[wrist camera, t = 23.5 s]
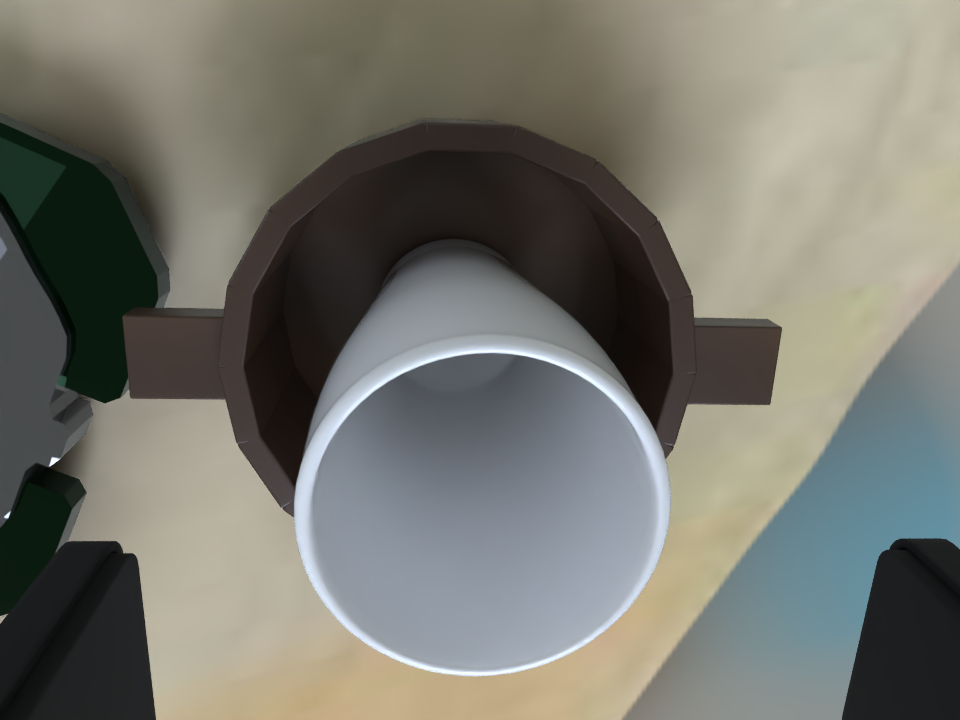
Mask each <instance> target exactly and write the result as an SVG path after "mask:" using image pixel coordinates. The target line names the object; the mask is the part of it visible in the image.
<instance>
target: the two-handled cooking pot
mask: <svg viewBox="0 0 960 720" xmlns="http://www.w3.org/2000/svg"><path fill="white" fill-rule="evenodd" d="M443 239H464V240H470V241H474V242H478V243H480V244H483V245H486V246H487V247H489V248H491V249H493V250H495V251H496V252H498V253H499V254H501V255H502V256H503V257H505V258H506V259H507V260H508V261H509V262H510V263H511V264H512V265H513V267H514V268H515V269H516V270H517V272H518V273H519V274H520V275H521V276H522V277H523V278H525V279H526V280H527V281H528V282H530V283H531V284H532V285H534V286H535V287H536V288H538V289H539V290H540V291H542V292H543V293H544V294H546V295H547V296H548V297H550V298H551V299H552V300H553V301H555V302H556V303H557V304H558V305H560V306H561V307H562V308H563V309H565V310H566V311H567V312H568V313H569V314H570V315H572V316H573V317H574V318H575V319H576V320H577V321H578V322H579V323H580V324H581V325H582V326H583V327H584V328H585V329H586V330H587V331H588V332H589V333H590V334H591V335H592V337H593V338H594V339H595V340H596V341H597V342H598V344H599V345H600V346H601V347H602V348H603V350H604V351H605V352H606V353H607V355H608V356H609V357H610V359H611V360H612V361H613V363H614V364H615V366H616V367H617V369H618V370H619V372H620V373H621V374H622V376H623V377H624V379H625V380H626V382H627V383H628V385H629V387H630V388H631V390H632V392H633V393H634V395H635V397H636V398H637V400H638V402H639V404H640V406H641V407H642V409H643V411H644V413H645V414H646V416H647V417H648V419H649V420H650V422H651V424H652V426H653V428H654V430H655V432H656V434H657V436H658V439H659V441H660V444H661V446H662V449H663V452H664V456H665V459H666V458H667V457H668V455H669V454H670V452H671V451H672V450H673V448H674V447H673V446H674V445H675V442H676V439H677V436H678V433H679V429H680V426H681V423H682V419H683V416H684V413H685V410H686V406H687V404H721V405H770V403H771V396H772V390H773V383H774V377H775V370H776V364H777V358H778V351H779V345H780V338H781V332H782V327H780V326H778V325H777V324H775V323H773V322H772V321H770V320H768V319H737V318H694V310H693V296H692V294H691V290H690V288H689V286H688V283H687V281H686V279H685V277H684V274H683V272H682V270H681V268H680V266H679V263H678V261H677V259H676V257H675V255H674V252H673V250H672V248H671V246H670V243H669V241H668V239H667V237H666V235H665V232H664V230H663V228H662V226H661V224H660V222H659V221H658V220H657V217H656V216H655V215H654V214H653V213H652V212H651V211H650V210H648V209H647V208H646V207H645V206H644V205H643V204H642V203H641V202H640V201H639V200H638V199H637V198H636V197H635V196H634V195H633V194H632V193H631V192H630V191H629V190H628V189H627V188H626V187H625V186H624V185H623V184H622V183H621V182H620V181H619V180H618V179H617V178H616V177H615V176H614V175H613V174H612V173H611V172H610V171H609V170H608V169H607V168H606V167H604V166H603V165H602V164H601V163H600V162H598V161H597V160H596V159H594V158H592V157H590V156H587V155H585V154H583V153H580V152H578V151H576V150H573V149H571V148H569V147H566V146H564V145H562V144H559V143H557V142H555V141H552V140H550V139H548V138H545V137H543V136H541V135H538V134H536V133H534V132H531V131H529V130H527V129H524V128H522V127H520V126H515V125H511V124H505V123H500V122H494V121H480V120H454V119H427V118H426V119H420V120H417V121H415V122H412V123H409V124H406V125H403V126H400V127H397V128H394V129H391V130H388V131H385V132H382V133H379V134H376V135H373V136H370V137H367V138H364V139H361V140H359V141H357V142H355V143H353V144H351V145H349V146H347V147H346V148H344V149H342V150H340V151H338V152H336V153H335V154H334V155H333V156H332V157H330V158H329V159H328V160H327V161H326V162H324V163H323V164H322V165H321V166H320V167H318V168H317V169H316V170H315V171H314V172H312V173H311V174H310V175H309V176H307V177H306V178H305V179H304V180H303V181H301V182H300V183H299V184H298V185H297V186H295V187H294V188H293V189H292V190H291V191H289V192H288V193H287V194H286V195H285V196H283V197H282V198H281V199H280V200H279V201H277V202H276V203H275V204H274V205H273V206H271V208H270V209H269V210H268V211H267V213H266V215H265V217H264V219H263V221H262V222H261V224H260V226H259V228H258V230H257V231H256V233H255V235H254V237H253V239H252V241H251V242H250V244H249V246H248V248H247V250H246V251H245V253H244V255H243V257H242V259H241V261H240V262H239V264H238V266H237V268H236V270H235V271H234V273H233V275H232V277H231V279H230V281H229V285H228V286H227V292H226V300H225V308H224V309H197V308H144V307H135V308H133V309H132V310H130V311H129V312H127V313H126V314H125V315H123V317H122V319H123V329H124V339H125V350H126V360H127V370H128V380H129V390H130V397H131V398H133V399H226V403H227V407H228V411H229V415H230V419H231V423H232V427H233V431H234V435H235V439H236V442H237V444H238V446H239V448H240V449H241V451H242V452H243V454H244V455H245V456H246V458H247V459H248V461H249V462H250V464H251V465H252V467H253V468H254V469H255V471H256V472H257V474H258V475H259V477H260V478H261V480H262V481H263V482H264V484H265V485H266V487H267V488H268V490H269V491H270V493H271V494H272V495H273V497H274V498H275V500H276V501H277V503H278V504H279V506H280V507H281V508H282V507H283V510H284V511H286V512H287V513H288V514H290V515H291V516H293V517H294V497H295V489H296V482H297V478H298V474H299V470H300V465H301V460H302V455H303V451H304V447H305V442H306V438H307V434H308V430H309V426H310V423H311V419H312V416H313V413H314V410H315V407H316V404H317V401H318V398H319V396H320V393H321V390H322V388H323V385H324V383H325V381H326V378H327V376H328V374H329V372H330V370H331V368H332V366H333V364H334V362H335V360H336V358H337V356H338V354H339V353H340V351H341V349H342V348H343V346H344V345H345V343H346V341H347V340H348V338H349V337H350V335H351V334H352V332H353V331H354V329H355V328H356V326H357V325H358V324H359V322H360V321H361V319H362V318H363V316H364V315H365V314H366V312H367V311H368V309H369V308H370V306H371V305H372V303H373V302H374V300H375V299H376V297H377V295H378V292H379V289H380V287H381V285H382V283H383V280H384V279H385V277H386V275H387V274H388V272H389V271H390V270H391V268H392V267H393V266H394V265H395V264H396V263H397V262H398V261H399V260H400V259H401V258H402V257H403V256H404V255H406V254H407V253H409V252H410V251H412V250H413V249H415V248H417V247H419V246H421V245H424V244H426V243H429V242H432V241H437V240H443Z"/></svg>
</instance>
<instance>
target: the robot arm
mask: <svg viewBox="0 0 960 720" xmlns="http://www.w3.org/2000/svg"><path fill="white" fill-rule="evenodd" d="M0 720H156V716H155V707H154V698H153V689H152V680H151V672H150V663H149V654H148V645H147V636H146V627H145V618H144V610H143V601H142V592H141V583H140V574H139V565H138V560H137V558H136V555H134V554H133V553H123V550H122V547H121V545H120V544H119V543H118V542H117V541H70V542H65V543H64V544H63V545H62V546H61V547H60V548H59V550H58V551H57V552H56V553H55V555H54V556H53V557H52V559H51V560H50V561H49V562H48V564H47V565H46V566H45V568H44V569H43V570H42V571H41V573H40V574H39V575H38V576H37V578H36V579H35V580H34V582H33V583H32V584H31V585H30V587H29V588H28V589H27V591H26V592H25V593H24V594H23V596H22V597H21V598H20V599H19V601H18V602H17V603H16V605H15V606H14V607H13V608H12V610H11V611H10V612H9V613H8V615H7V616H6V617H5V619H4V620H3V621H2V622H1V624H0ZM842 720H960V549H958V547H956V546H955V545H954V544H953V543H951V542H950V541H948V540H946V539H899V540H896V541H895V542H894V543H893V544H892V545H891V547H890V549H889V550H886V551H884V552H882V553H881V555H880V556H879V559H878V561H877V565H876V570H875V574H874V579H873V583H872V587H871V592H870V596H869V601H868V605H867V609H866V614H865V618H864V623H863V627H862V631H861V636H860V641H859V644H858V649H857V653H856V658H855V662H854V667H853V671H852V675H851V680H850V684H849V688H848V693H847V698H846V702H845V706H844V710H843V716H842Z"/></svg>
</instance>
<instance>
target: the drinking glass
mask: <svg viewBox="0 0 960 720" xmlns="http://www.w3.org/2000/svg"><path fill="white" fill-rule="evenodd" d="M670 507H671V492H670V479H669V473H668V467H667V463H666V459H665V456H664V452H663V449H662V446H661V444H660V441H659V439H658V436H657V434H656V432H655V430H654V428H653V426H652V424H651V422H650V420H649V419H648V417H647V416H646V414H645V413H644V411H643V409H642V407H641V406H640V404H639V402H638V400H637V398H636V397H635V395H634V393H633V392H632V390H631V388H630V387H629V385H628V383H627V382H626V380H625V379H624V377H623V376H622V374H621V373H620V372H619V370H618V369H617V367H616V366H615V364H614V363H613V361H612V360H611V359H610V357H609V356H608V355H607V353H606V352H605V351H604V350H603V348H602V347H601V346H600V345H599V344H598V342H597V341H596V340H595V339H594V338H593V337H592V335H591V334H590V333H589V332H588V331H587V330H586V329H585V328H584V327H583V326H582V325H581V324H580V323H579V322H578V321H577V320H576V319H575V318H574V317H573V316H572V315H570V314H569V313H568V312H567V311H566V310H565V309H563V308H562V307H561V306H560V305H558V304H557V303H556V302H555V301H553V300H552V299H551V298H550V297H548V296H547V295H546V294H544V293H543V292H542V291H540V290H539V289H538V288H536V287H535V286H534V285H532V284H531V283H530V282H528V281H527V280H526V279H525V278H523V277H522V276H521V275H520V274H519V273H518V272H517V270H516V269H515V268H514V267H513V265H512V264H511V263H510V262H509V261H508V260H507V259H506V258H505V257H503V256H502V255H501V254H499V253H498V252H496V251H495V250H493V249H491V248H489V247H487V246H486V245H483V244H480V243H478V242H474V241H470V240H464V239H443V240H437V241H432V242H429V243H426V244H424V245H421V246H419V247H417V248H415V249H413V250H412V251H410V252H409V253H407V254H406V255H404V256H403V257H402V258H401V259H400V260H399V261H398V262H397V263H396V264H395V265H394V266H393V267H392V268H391V270H390V271H389V272H388V274H387V275H386V277H385V279H384V280H383V283H382V285H381V287H380V289H379V292H378V295H377V297H376V299H375V300H374V302H373V303H372V305H371V306H370V308H369V309H368V311H367V312H366V314H365V315H364V316H363V318H362V319H361V321H360V322H359V324H358V325H357V326H356V328H355V329H354V331H353V332H352V334H351V335H350V337H349V338H348V340H347V341H346V343H345V345H344V346H343V348H342V349H341V351H340V353H339V354H338V356H337V358H336V360H335V362H334V364H333V366H332V368H331V370H330V372H329V374H328V376H327V378H326V381H325V383H324V385H323V388H322V390H321V393H320V396H319V398H318V401H317V404H316V407H315V410H314V413H313V416H312V419H311V423H310V426H309V430H308V434H307V438H306V442H305V447H304V451H303V455H302V460H301V465H300V470H299V474H298V478H297V482H296V489H295V497H294V524H295V534H296V539H297V544H298V549H299V553H300V556H301V559H302V562H303V565H304V568H305V570H306V572H307V575H308V577H309V579H310V581H311V583H312V585H313V587H314V589H315V590H316V592H317V594H318V595H319V597H320V598H321V600H322V601H323V602H324V604H325V605H326V607H327V608H328V609H329V611H330V612H331V613H332V614H333V615H334V616H335V617H336V618H337V619H338V621H339V622H340V623H341V624H342V625H343V626H345V627H346V628H347V629H348V630H349V631H350V632H351V633H352V634H354V635H355V636H356V637H358V638H359V639H360V640H362V641H363V642H364V643H366V644H367V645H369V646H370V647H372V648H374V649H375V650H377V651H379V652H380V653H382V654H384V655H386V656H388V657H390V658H393V659H395V660H397V661H399V662H402V663H405V664H407V665H410V666H413V667H416V668H420V669H423V670H427V671H432V672H437V673H442V674H449V675H459V676H492V675H501V674H508V673H515V672H519V671H523V670H528V669H532V668H535V667H538V666H541V665H544V664H547V663H550V662H552V661H555V660H557V659H560V658H562V657H564V656H566V655H568V654H570V653H572V652H574V651H576V650H578V649H579V648H581V647H583V646H584V645H586V644H587V643H589V642H591V641H592V640H594V639H595V638H596V637H598V636H599V635H600V634H602V633H603V632H604V631H606V630H607V629H608V628H609V627H610V626H611V625H612V624H613V623H615V622H616V621H617V620H618V619H619V618H620V617H621V616H622V615H623V614H624V613H625V612H626V610H627V609H628V608H629V607H630V606H631V605H632V603H633V602H634V601H635V600H636V598H637V597H638V596H639V594H640V593H641V592H642V590H643V588H644V587H645V585H646V584H647V582H648V581H649V579H650V577H651V575H652V573H653V571H654V569H655V567H656V565H657V563H658V560H659V557H660V555H661V552H662V550H663V546H664V543H665V539H666V536H667V531H668V525H669V519H670Z"/></svg>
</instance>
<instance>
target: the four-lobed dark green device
mask: <svg viewBox="0 0 960 720" xmlns="http://www.w3.org/2000/svg"><path fill="white" fill-rule="evenodd" d="M169 292H170V282H169V268H168V266H167V264H166V262H165V260H164V258H163V256H162V254H161V251H160V249H159V247H158V245H157V243H156V241H155V239H154V237H153V235H152V233H151V230H150V228H149V226H148V224H147V222H146V220H145V218H144V216H143V214H142V212H141V209H140V207H139V205H138V203H137V201H136V199H135V197H134V195H133V193H132V190H131V188H130V186H129V184H128V182H127V180H126V178H125V177H124V176H123V175H122V174H121V173H120V172H119V171H118V170H117V169H116V168H115V167H113V166H112V165H111V164H110V163H109V162H108V161H106V160H104V159H102V158H100V157H98V156H95V155H93V154H91V153H89V152H87V151H84V150H82V149H80V148H78V147H75V146H73V145H71V144H69V143H67V142H64V141H62V140H60V139H58V138H56V137H53V136H51V135H49V134H47V133H44V132H42V131H40V130H38V129H36V128H33V127H31V126H29V125H27V124H25V123H22V122H20V121H18V120H16V119H14V118H11V117H9V116H7V115H5V114H2V113H0V616H2V615H5V614H8V613H9V612H10V611H11V610H12V608H13V607H14V606H15V605H16V603H17V602H18V601H19V599H20V598H21V597H22V596H23V594H24V593H25V592H26V591H27V589H28V588H29V587H30V585H31V584H32V583H33V582H34V580H35V579H36V578H37V576H38V575H39V574H40V573H41V571H42V570H43V569H44V568H45V566H46V565H47V564H48V562H49V561H50V560H51V559H52V557H53V556H54V555H55V553H56V552H57V551H58V550H59V548H60V547H61V546H62V545H63V544H64V543H65V542H68V539H69V537H70V534H71V532H72V529H73V526H74V524H75V521H76V519H77V516H78V513H79V511H80V508H81V506H82V503H83V500H84V498H85V495H86V493H87V492H86V491H85V489H84V487H83V485H82V483H81V482H80V480H79V479H77V478H74V477H72V476H69V475H66V474H64V473H61V472H58V471H55V470H53V469H50V468H47V467H50V466H51V465H53V464H54V463H55V462H57V461H58V460H60V459H61V458H62V457H63V456H64V455H65V454H66V453H67V452H68V451H69V450H70V449H71V448H72V447H73V446H74V445H75V444H76V443H77V442H78V441H79V440H80V439H81V438H82V437H83V436H84V435H85V434H86V432H87V429H88V426H89V424H90V421H91V418H92V416H93V413H92V408H91V404H90V401H87V400H84V399H82V398H79V397H78V393H80V394H83V395H85V396H88V397H90V398H93V399H95V400H98V401H100V402H103V403H107V402H110V401H112V400H115V399H118V398H121V397H122V396H123V395H124V394H125V393H126V392H127V391H128V390H129V380H128V370H127V360H126V350H125V339H124V329H123V319H122V317H123V315H125V314H126V313H127V312H129V311H130V310H132V309H133V308H135V307H144V308H163V307H164V305H165V302H166V299H167V297H168V294H169ZM77 392H78V393H77ZM45 466H47V467H45Z"/></svg>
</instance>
